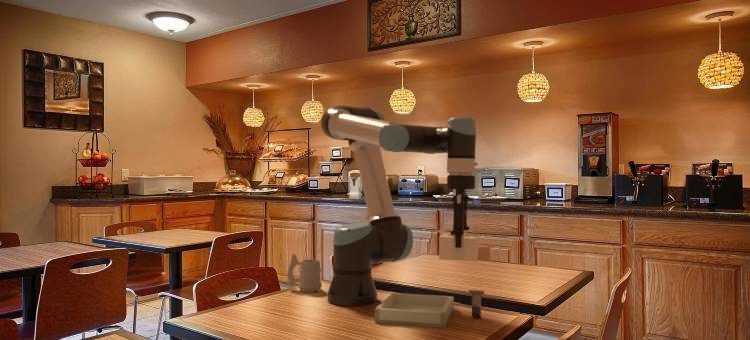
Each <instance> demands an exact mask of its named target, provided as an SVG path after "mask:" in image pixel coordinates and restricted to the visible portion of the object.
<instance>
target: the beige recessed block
mask: <svg viewBox="0 0 750 340" xmlns="http://www.w3.org/2000/svg"><path fill="white" fill-rule="evenodd" d="M463 235H464V260H457V262H458V261H461V262H478V260H480V261H481V260H483V261H490V259H491V246H480V233H467V234H466V233H464V234H463ZM438 237H439V238H438V241H439V242H438V260H441V261H442V260H444V261H454V260H453V235H451V232H442V233H441V234H440V235H439V236H438Z"/></svg>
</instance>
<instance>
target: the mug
mask: <svg viewBox="0 0 750 340" xmlns="http://www.w3.org/2000/svg"><path fill="white" fill-rule="evenodd" d="M296 266H300V268H299V276H298V277H295V276H294V269H295V267H296ZM287 269H288V270H287V281H288V283H289V285H290V287H293V286H295V284H297V283H299V284H298V288H299V292H301V291H303V292H302V293H308V292H309V293H310V292H312V293H316V292H315V291H318V292H320V291H319V290H322V287H323V283H322V282H321V280H322V279H321V278H322V277H321V272H322V268H321V261H320V259H312V258H311V259H302V260H299V261H298V257H297V255H296V254H295V253H292V254H291V260H290V263H289V265H288V268H287Z"/></svg>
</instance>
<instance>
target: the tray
mask: <svg viewBox="0 0 750 340" xmlns="http://www.w3.org/2000/svg"><path fill="white" fill-rule="evenodd" d="M454 301H455V299H454V295H452V296H451V295H434V294H416V293H401V292H392V293H390V295H388V296H387V297H386V298H385V299H384V300H383V301H382V302H381V303H380V304H378V305H377V306H376V307H375V308H374V323H376V324H387V325H389V324H390V325H401V326H403V325H404V326H415V327H417V326H418V327H428V328H429V327H430V328H440V329H441V328H442V329H444V328H445V327H446V326H447V324H448V321H449V319H450V317H451V315H452V314H453V311H454V309H453V308H454V306H455V305H454V303H455V302H454ZM452 310H453V311H452Z"/></svg>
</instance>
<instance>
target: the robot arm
mask: <svg viewBox="0 0 750 340" xmlns="http://www.w3.org/2000/svg"><path fill="white" fill-rule="evenodd" d="M320 118H321V119H320V126H321V130H322V132H323V133H324V134H325V135H326V136H327V137H329V138H331V139H334V140H337V141H338V140H339V141H347V142H348V146H349V150H351V151H352V152H354V153H355V158H356V162H357V166H358V167H357V168H358V173H359V175H360V176H359V177H360V181H361V186H362V190H363V195H364V200H365V205H366V209H367V213H368V220H367V221H360V222H351V223H350V222H349V223H344V224H342V225H339V226H337V227H336V228H335V229H334V232H333V240H332V243H333V274H332V275H333V276H332V279H331V282H330V286H329V288H328V291H327V302H328V303H330V304H332V305H337V306H345V307H346V306H347V307H349V306H350V307H351V306H352V307H354V306H355V307H356V306H358V307H359V306H367V305H371V304H375V303H376V302H377V301H378V291H377V288H376V285H375V281H374V279H373V273H372V269H373V268H372V266H373V265H375V264H380V263H381V264H384V263H390V262H391V263H395V262H397V261H403V260H405V259H406V258H407V257H408V256H409V255H410V253H411V251H412V249H413V245H414V235H413V232H412V229H411V228H410V227H409V226H408V225H407V224H405V223H403V221H402V217H401V215H399V214H398V213H396V212H395V208H394V204H393V203H394V202H393V199H392V198H393V197H392V194H391V190H390V186H389V181H388V176H387V172H386V168H385V164H384V161H383V160H384V159H383V156H382V152H381V148H382V149H383V150H384V151H387V152H392V153H399V152H401V153H419V154H421V153H422V154H428V155H434V154H446V155H447V156H446V157H447V158H446V173H447V174H448V175H447V177H446V188H447V189H448V190H455V194H454V195H453V196H452V204H453V205H452V206H453V207H452V208H453V222H452V226H453V227H452V231H450V233H451V235H453V260H452V261H458V260H464V235H463V234H464V233H466V234H468V233H467V231H469V230H470V226H468V221H467V220H468V216H467V215H468V214H467V213H468V210H469V209H468V207H469V206H468V205H469V204H468V203H469V195H468V193H466V191H467V190H474V189H475V188H476V176H475V175H474V174H475V173H476V167H477V166H478V165H479V163H478V162H475V161H476V145H477V143H476V142H477V141H476V140H477V128H476V127H477V125H476V120H475V119H474V118H473V117H468V116H467V117H466V116H457V117H455V116H453V117H450V118H448V119H447V125H446V126H426V125H413V124H404V123H397V122H392V121H387V120H386V119H385V117H384V115H383V114H382V113H381V111H379V110H377V109H374V108H370V107H358V106H357V107H356V106H348V105H335V106H334V105H333V106H330V107H329V108H328V109H326V111H324V112H323V114H322V116H321V117H320ZM380 147H381V148H380Z"/></svg>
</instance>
